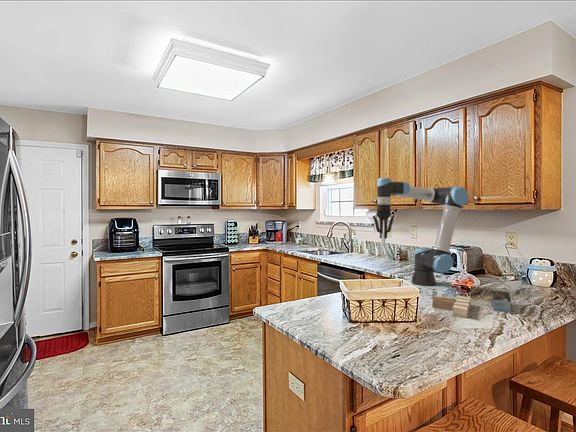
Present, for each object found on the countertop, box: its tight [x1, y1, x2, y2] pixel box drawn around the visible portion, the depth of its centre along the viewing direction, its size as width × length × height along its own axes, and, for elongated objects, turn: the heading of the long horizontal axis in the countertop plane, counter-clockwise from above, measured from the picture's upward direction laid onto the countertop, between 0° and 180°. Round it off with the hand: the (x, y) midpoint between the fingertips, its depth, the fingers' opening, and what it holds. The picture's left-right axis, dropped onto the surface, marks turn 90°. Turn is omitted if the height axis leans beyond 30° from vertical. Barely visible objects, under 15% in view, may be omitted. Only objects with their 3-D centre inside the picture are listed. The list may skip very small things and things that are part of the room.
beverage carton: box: [491, 290, 512, 314], centre depth 172 cm, size 8×19×7 cm, turn 149°
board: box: [451, 295, 472, 319], centre depth 166 cm, size 24×6×4 cm, turn 148°
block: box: [431, 295, 457, 312], centre depth 170 cm, size 7×10×4 cm
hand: (383, 244), depth 199 cm, fingers closed
